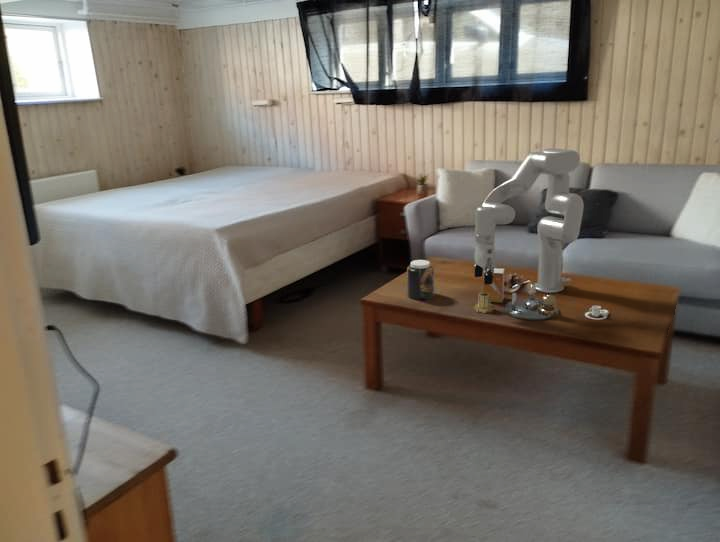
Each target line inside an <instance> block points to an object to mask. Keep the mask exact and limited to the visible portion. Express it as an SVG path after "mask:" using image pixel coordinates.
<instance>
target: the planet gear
mask: <svg viewBox="0 0 720 542" xmlns="http://www.w3.org/2000/svg"><path fill="white" fill-rule="evenodd" d="M473 309H474V310H475V311H476V313H482V314H486V313H492V312H493V311H494V310H495V306H494V305H492V303H491V302H490V294H489V293H485V292H483V291H482V292H479V293H478V294H477V303H476V304H475V305H474V307H473Z"/></svg>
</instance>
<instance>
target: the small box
mask: <svg viewBox="0 0 720 542" xmlns="http://www.w3.org/2000/svg"><path fill="white" fill-rule="evenodd" d="M483 270H484V269H483ZM488 270H489V269H487V271H488ZM505 270H506V269H505V268H496V267H495V268H494V272H493V283H492V284H487V285H485V284H484V277H485V270H484V271H483V275H482V278H483V279H482V281H483V283H482V292H485V293H489V294H490V303H500V304H501V303H503V301H504V295H505V294H504V293H505V290H504V289H505Z"/></svg>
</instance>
